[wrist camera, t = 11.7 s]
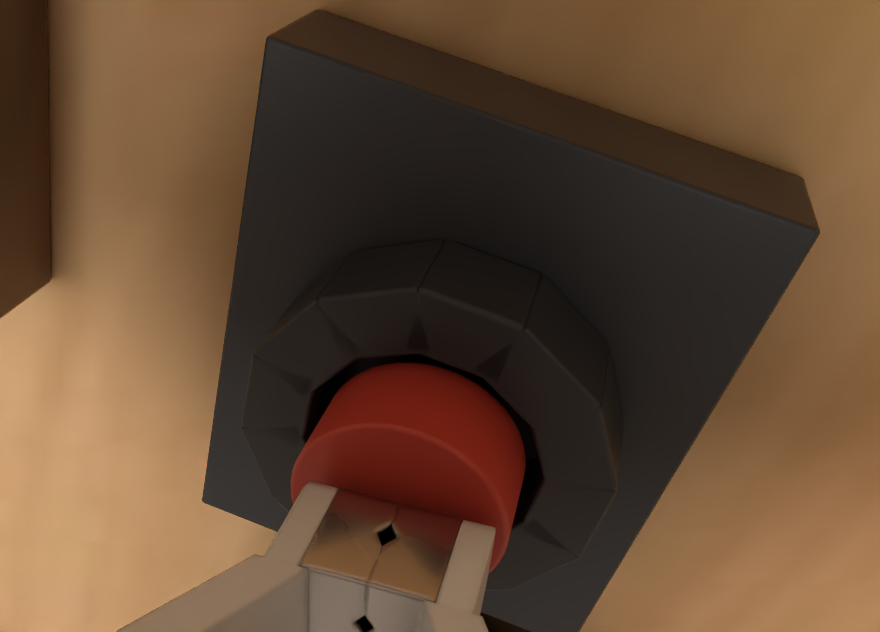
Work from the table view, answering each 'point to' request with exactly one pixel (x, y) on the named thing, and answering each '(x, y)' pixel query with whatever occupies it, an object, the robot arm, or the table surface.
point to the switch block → (492, 286)
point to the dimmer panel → (23, 152)
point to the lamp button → (420, 446)
